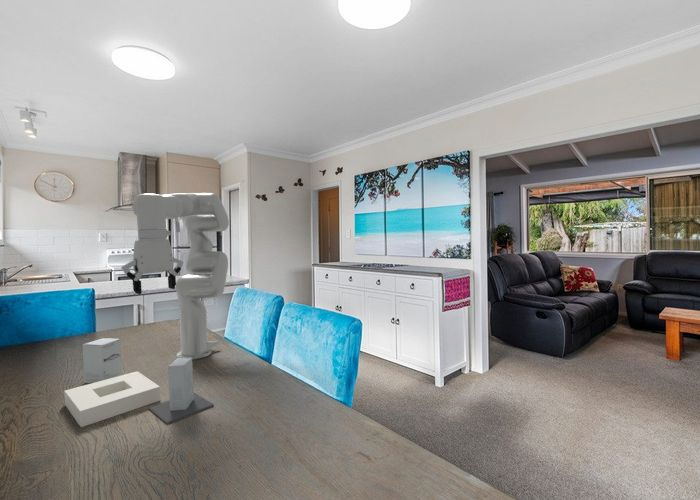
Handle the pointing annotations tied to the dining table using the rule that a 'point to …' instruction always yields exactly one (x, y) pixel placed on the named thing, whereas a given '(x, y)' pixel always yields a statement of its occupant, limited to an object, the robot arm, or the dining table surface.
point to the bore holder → (110, 397)
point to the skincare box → (180, 384)
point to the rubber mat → (172, 416)
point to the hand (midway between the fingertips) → (155, 291)
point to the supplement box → (101, 360)
